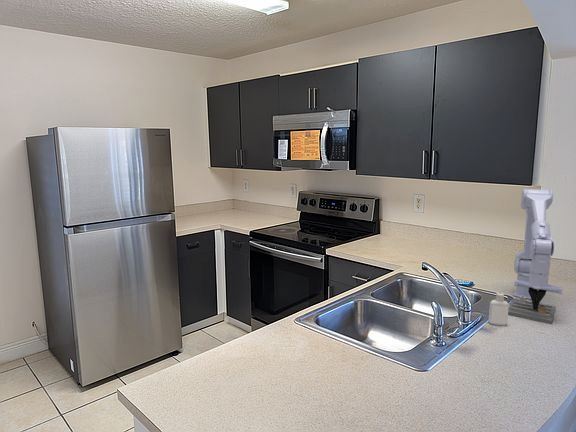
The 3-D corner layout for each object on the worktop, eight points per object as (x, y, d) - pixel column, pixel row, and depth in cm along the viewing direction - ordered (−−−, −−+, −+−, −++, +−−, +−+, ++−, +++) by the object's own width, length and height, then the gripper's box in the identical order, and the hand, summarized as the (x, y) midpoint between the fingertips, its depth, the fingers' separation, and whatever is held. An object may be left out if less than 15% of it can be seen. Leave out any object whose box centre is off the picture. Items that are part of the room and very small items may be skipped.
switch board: (513, 301, 160) (513, 296, 160) (555, 309, 152) (556, 304, 151) (506, 314, 147) (506, 308, 147) (551, 324, 139) (552, 318, 139)
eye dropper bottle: (504, 327, 136) (508, 293, 134) (486, 323, 140) (489, 289, 138) (508, 323, 139) (511, 290, 137) (490, 319, 143) (493, 286, 141)
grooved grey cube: (519, 301, 155) (520, 294, 155) (525, 302, 154) (526, 295, 154) (518, 303, 154) (519, 295, 153) (524, 304, 153) (525, 297, 152)
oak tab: (538, 311, 146) (539, 304, 145) (545, 313, 145) (546, 305, 144) (538, 313, 144) (539, 305, 144) (544, 314, 143) (545, 306, 143)
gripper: (514, 271, 144) (510, 307, 147) (563, 279, 136) (558, 317, 138) (517, 266, 150) (513, 301, 152) (564, 274, 141) (560, 311, 144)
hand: (535, 308), depth 145 cm, fingers closed
